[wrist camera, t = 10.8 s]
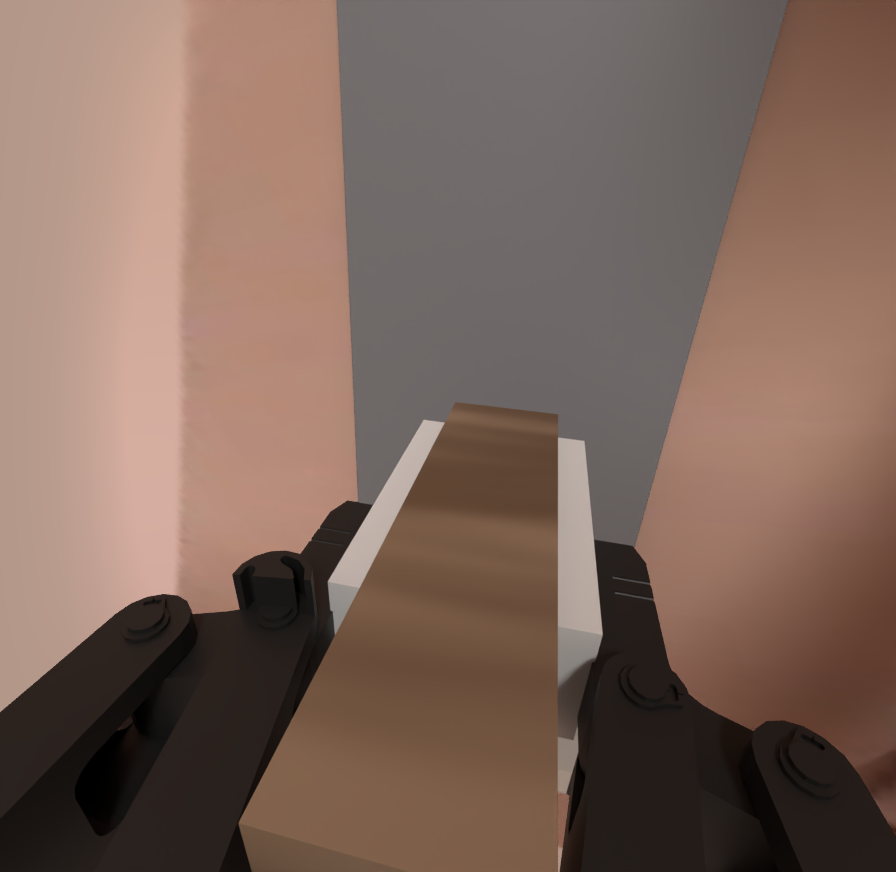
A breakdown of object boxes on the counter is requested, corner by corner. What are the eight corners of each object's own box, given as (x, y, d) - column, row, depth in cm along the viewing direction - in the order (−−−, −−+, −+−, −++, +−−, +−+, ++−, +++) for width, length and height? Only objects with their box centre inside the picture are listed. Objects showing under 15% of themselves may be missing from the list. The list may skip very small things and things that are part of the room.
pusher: (343, 388, 15) (-58, 739, 5) (687, 429, 13) (1040, 1051, 4) (356, 612, 19) (146, 1038, 9) (618, 664, 17) (694, 1244, 8)
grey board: (334, -175, 14) (282, -264, 11) (841, -208, 12) (925, -325, 9) (369, 697, 31) (351, 744, 28) (577, 742, 29) (580, 797, 26)
